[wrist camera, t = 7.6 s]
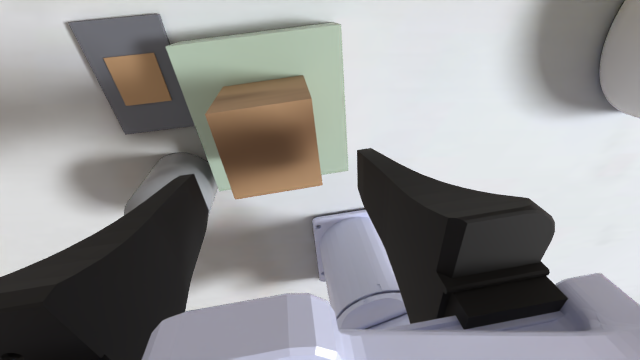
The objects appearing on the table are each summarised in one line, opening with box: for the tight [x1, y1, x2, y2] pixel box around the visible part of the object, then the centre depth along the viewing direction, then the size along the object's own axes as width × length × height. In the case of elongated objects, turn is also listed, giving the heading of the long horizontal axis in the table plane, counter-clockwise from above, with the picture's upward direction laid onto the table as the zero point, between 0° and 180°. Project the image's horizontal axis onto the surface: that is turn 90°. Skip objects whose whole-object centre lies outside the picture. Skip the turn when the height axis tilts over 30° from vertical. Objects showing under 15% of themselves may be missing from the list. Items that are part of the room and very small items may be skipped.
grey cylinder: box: [124, 153, 218, 217], centre depth 21 cm, size 5×5×5 cm
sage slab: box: [166, 22, 348, 191], centre depth 20 cm, size 10×10×3 cm
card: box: [68, 14, 195, 135], centre depth 18 cm, size 7×5×1 cm
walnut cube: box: [205, 75, 322, 199], centre depth 16 cm, size 5×5×5 cm
